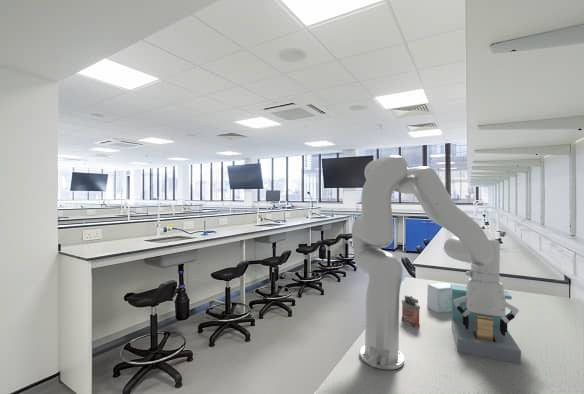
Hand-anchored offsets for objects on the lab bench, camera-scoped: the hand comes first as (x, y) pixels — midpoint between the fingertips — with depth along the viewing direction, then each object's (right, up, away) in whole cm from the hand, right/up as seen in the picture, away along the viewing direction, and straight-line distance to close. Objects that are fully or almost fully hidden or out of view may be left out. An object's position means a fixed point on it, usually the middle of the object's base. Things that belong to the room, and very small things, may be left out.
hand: (484, 330), depth 91 cm
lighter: (-16, -6, +19) cm, 25 cm away
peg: (0, -6, 0) cm, 6 cm away
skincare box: (+4, -6, +33) cm, 34 cm away
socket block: (+1, -6, +3) cm, 7 cm away
